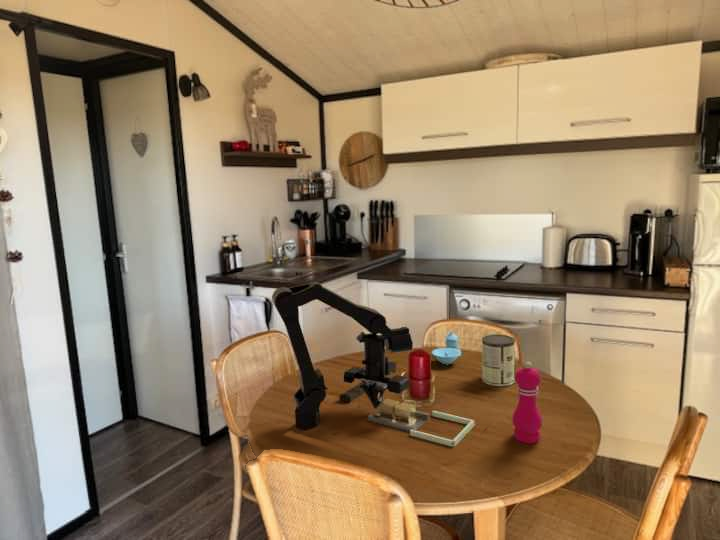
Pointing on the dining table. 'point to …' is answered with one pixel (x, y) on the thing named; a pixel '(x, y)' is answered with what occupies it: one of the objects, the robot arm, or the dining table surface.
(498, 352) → the coffee can
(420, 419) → the slot rail
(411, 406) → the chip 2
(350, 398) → the wooden stick
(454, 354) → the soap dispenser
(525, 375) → the pepper mill
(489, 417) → the dining table surface
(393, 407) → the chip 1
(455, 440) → the tray
